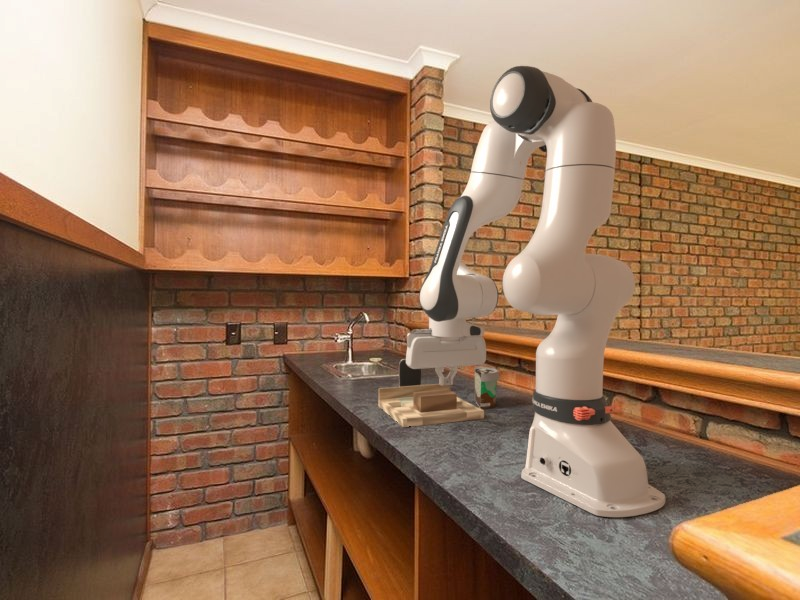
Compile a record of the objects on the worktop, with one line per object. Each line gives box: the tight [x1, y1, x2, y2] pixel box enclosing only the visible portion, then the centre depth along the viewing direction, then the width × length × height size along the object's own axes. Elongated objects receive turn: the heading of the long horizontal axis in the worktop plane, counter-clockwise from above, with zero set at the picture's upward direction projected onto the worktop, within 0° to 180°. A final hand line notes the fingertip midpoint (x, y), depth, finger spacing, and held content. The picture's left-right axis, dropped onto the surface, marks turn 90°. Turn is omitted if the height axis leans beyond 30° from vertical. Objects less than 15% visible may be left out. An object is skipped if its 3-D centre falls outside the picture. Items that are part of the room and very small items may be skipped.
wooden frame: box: [377, 383, 485, 428], centre depth 113 cm, size 20×22×5 cm
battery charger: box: [398, 358, 422, 387], centre depth 131 cm, size 7×4×11 cm, turn 92°
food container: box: [473, 365, 500, 410], centre depth 120 cm, size 12×6×10 cm, turn 179°
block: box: [413, 389, 458, 413], centre depth 109 cm, size 5×10×4 cm, turn 110°
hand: (445, 384), depth 102 cm, fingers closed
